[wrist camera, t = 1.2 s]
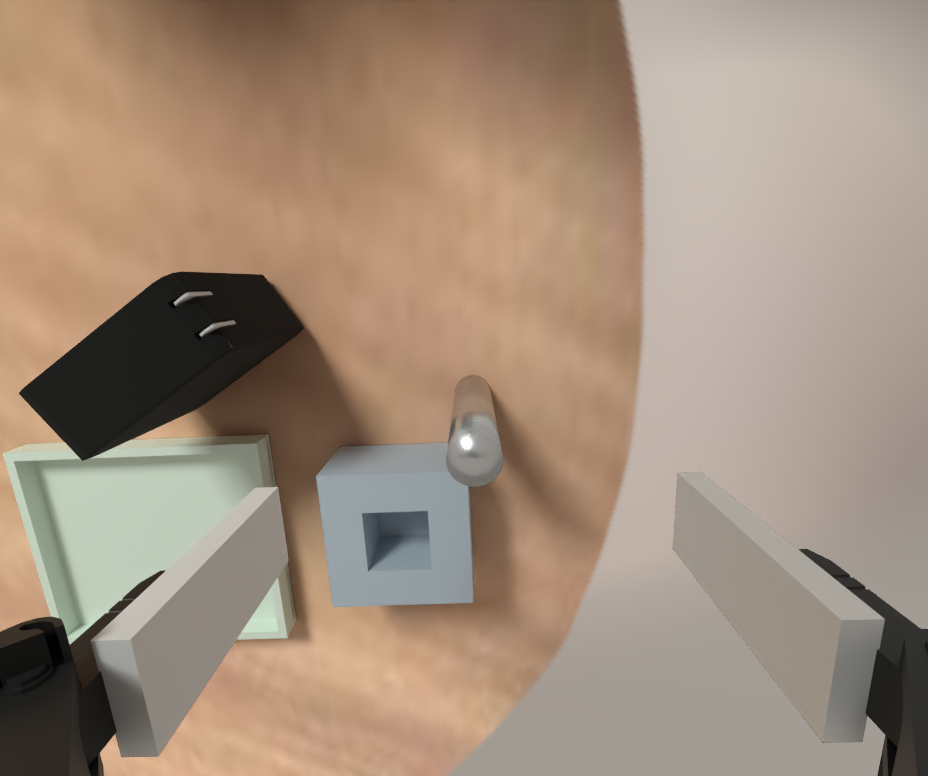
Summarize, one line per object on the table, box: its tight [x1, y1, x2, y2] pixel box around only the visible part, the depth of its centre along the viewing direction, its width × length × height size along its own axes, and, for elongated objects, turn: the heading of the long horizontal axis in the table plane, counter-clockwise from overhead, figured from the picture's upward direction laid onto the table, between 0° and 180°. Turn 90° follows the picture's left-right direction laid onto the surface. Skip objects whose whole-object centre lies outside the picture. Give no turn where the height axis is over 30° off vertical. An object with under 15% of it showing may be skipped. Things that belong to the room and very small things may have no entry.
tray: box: [3, 434, 297, 644], centre depth 33 cm, size 15×17×2 cm
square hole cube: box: [316, 442, 473, 607], centre depth 30 cm, size 9×9×5 cm
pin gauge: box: [446, 375, 503, 487], centre depth 25 cm, size 2×2×12 cm
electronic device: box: [19, 272, 304, 461], centre depth 25 cm, size 4×10×10 cm, turn 125°
